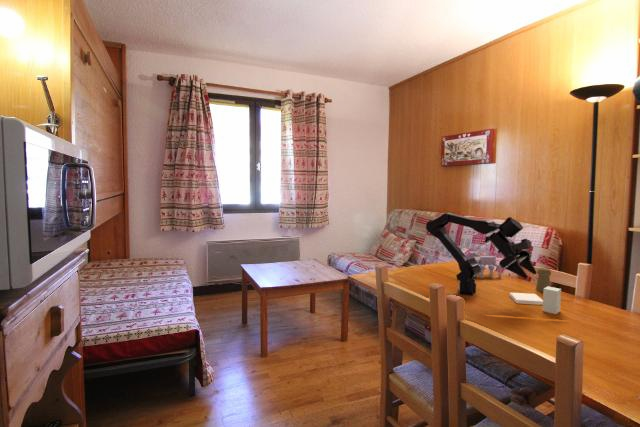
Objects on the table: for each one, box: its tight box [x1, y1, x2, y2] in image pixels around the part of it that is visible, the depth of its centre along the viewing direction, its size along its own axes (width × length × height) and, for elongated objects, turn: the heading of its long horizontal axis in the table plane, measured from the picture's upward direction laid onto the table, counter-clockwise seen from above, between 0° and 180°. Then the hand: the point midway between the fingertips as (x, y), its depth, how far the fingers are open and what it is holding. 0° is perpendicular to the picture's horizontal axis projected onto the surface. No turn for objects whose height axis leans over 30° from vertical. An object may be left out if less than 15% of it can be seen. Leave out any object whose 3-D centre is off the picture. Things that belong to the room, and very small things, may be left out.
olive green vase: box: [535, 267, 552, 293], centre depth 158 cm, size 6×6×11 cm
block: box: [542, 286, 562, 315], centre depth 133 cm, size 4×4×10 cm
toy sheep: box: [465, 251, 504, 279], centre depth 187 cm, size 20×11×14 cm, turn 92°
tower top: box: [509, 291, 543, 306], centre depth 146 cm, size 10×10×2 cm
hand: (531, 275), depth 138 cm, fingers open, 9 cm apart
